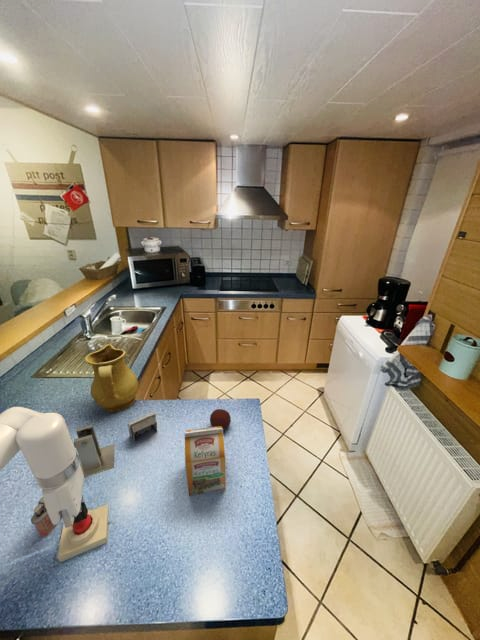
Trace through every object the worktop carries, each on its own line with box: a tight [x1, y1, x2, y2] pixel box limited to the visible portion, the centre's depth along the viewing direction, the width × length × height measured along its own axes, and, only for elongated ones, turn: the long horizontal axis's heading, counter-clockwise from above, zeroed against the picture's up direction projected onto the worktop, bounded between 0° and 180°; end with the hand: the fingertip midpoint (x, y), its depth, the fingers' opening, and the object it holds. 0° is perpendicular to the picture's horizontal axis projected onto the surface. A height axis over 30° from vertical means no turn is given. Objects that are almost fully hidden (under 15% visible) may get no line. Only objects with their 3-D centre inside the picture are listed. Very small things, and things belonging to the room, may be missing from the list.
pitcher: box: [84, 343, 139, 413], centre depth 99 cm, size 17×19×25 cm
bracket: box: [73, 424, 116, 478], centre depth 77 cm, size 12×9×14 cm
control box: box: [56, 504, 110, 563], centre depth 62 cm, size 10×8×4 cm
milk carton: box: [184, 426, 227, 497], centre depth 73 cm, size 11×11×19 cm
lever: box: [74, 430, 93, 449], centre depth 74 cm, size 14×3×3 cm
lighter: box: [30, 496, 63, 538], centre depth 63 cm, size 8×3×10 cm, turn 170°
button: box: [73, 514, 91, 534], centre depth 61 cm, size 4×4×2 cm
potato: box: [209, 408, 232, 431], centre depth 92 cm, size 7×8×7 cm
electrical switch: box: [127, 411, 158, 442], centre depth 87 cm, size 9×5×9 cm, turn 127°
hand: (80, 517), depth 60 cm, fingers closed
